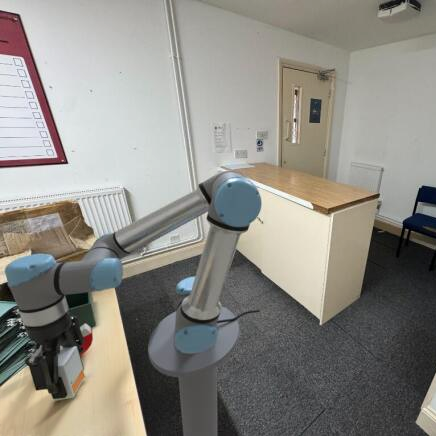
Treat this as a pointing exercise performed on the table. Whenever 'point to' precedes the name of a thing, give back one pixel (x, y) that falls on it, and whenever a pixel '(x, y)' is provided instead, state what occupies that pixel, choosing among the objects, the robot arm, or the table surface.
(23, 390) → the table surface
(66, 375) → the cosmetic box
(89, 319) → the bin
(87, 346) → the magnet
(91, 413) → the table surface
